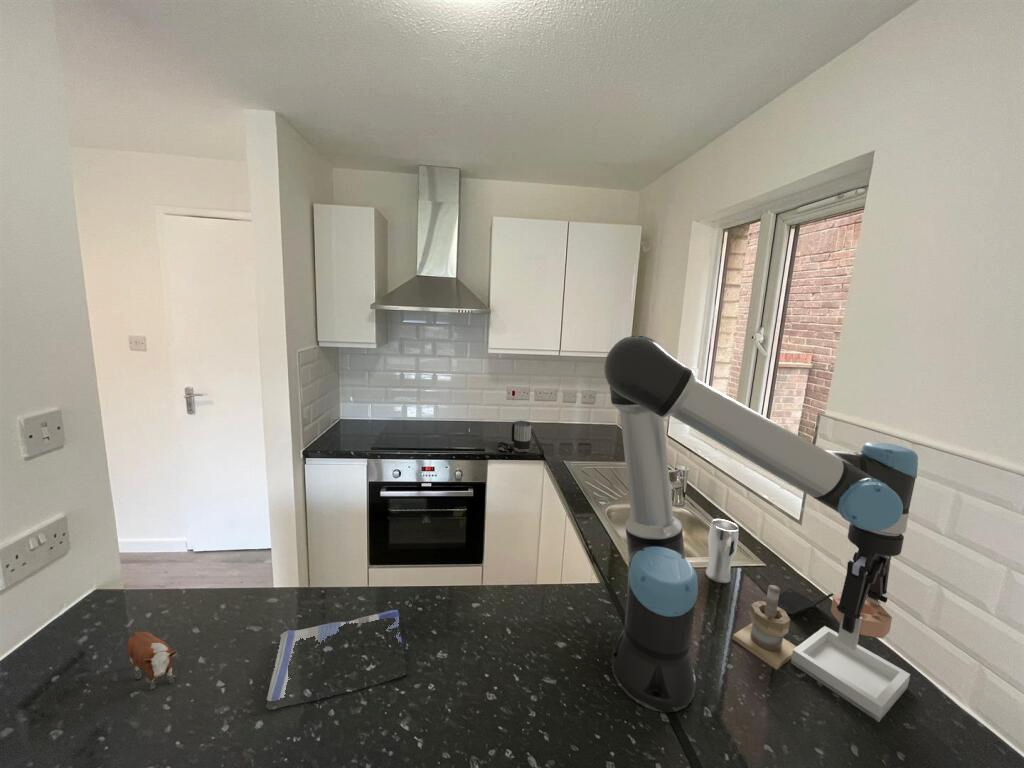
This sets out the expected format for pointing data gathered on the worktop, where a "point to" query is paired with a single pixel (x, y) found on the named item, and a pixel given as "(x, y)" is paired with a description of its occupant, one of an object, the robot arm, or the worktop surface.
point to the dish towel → (319, 632)
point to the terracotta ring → (868, 618)
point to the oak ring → (769, 620)
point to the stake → (766, 636)
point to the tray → (851, 672)
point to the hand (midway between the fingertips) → (856, 636)
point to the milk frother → (520, 435)
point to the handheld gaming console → (797, 602)
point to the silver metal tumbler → (721, 549)
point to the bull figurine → (150, 654)
